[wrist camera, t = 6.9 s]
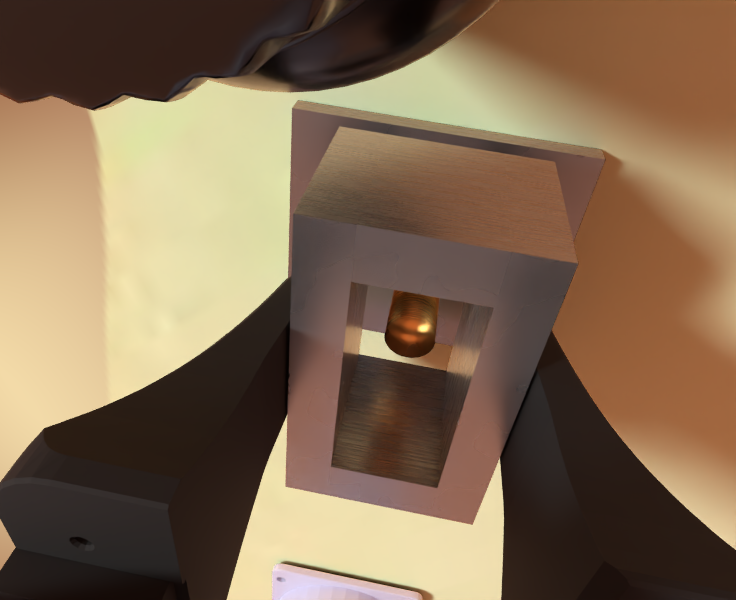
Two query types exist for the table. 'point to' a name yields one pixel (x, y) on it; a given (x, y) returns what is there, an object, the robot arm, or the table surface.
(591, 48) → the table surface
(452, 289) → the hollow rectangular frame
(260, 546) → the table surface
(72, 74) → the supplement bottle
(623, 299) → the table surface
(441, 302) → the keeper
